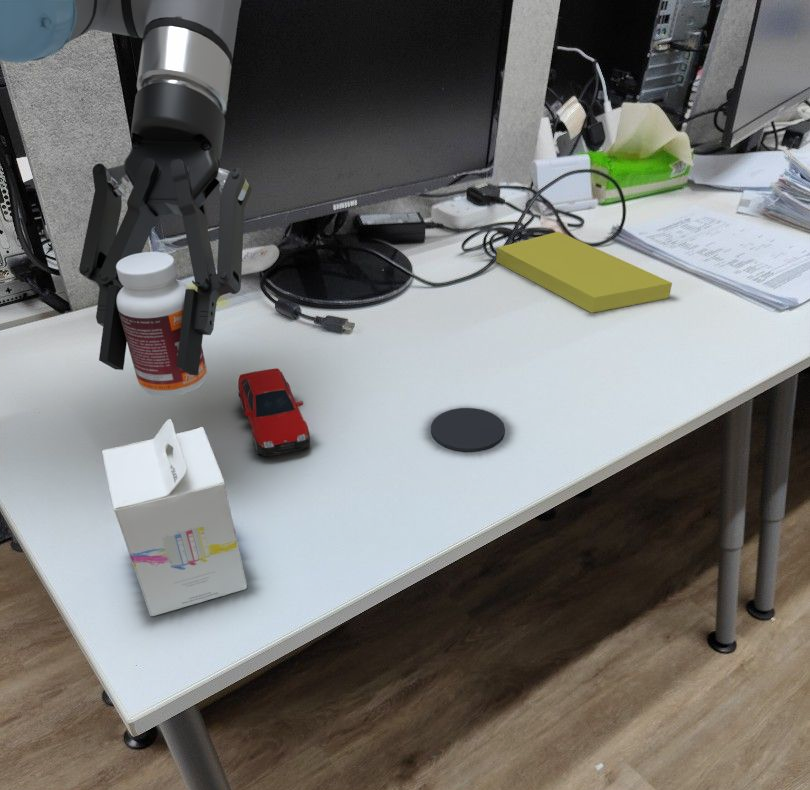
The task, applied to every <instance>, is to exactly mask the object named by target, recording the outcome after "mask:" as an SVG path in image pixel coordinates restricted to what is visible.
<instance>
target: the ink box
mask: <svg viewBox="0 0 810 790" xmlns="http://www.w3.org/2000/svg"><path fill="white" fill-rule="evenodd" d="M101 454H102V460H103V465H104V470H105V475H106V480H107V486H108V490H109V496H110V501H111V506H112V510H113V512H114V513H115V516H116V519H117V522H118V525H119V528H120V531H121V534H122V538H123V541H124V543H125V546H126V549H127V551H128V555H129V558H130V561H131V563H132V567H133V570H134V573H135V575H136V578H137V581H138V583H139V586H140V589H141V593H142V595H143V599H144V601H145V602H144V603H145V604H146V608H147V610H148V611H147V612H148V614H149V616H150V617H155V616H159V615H162V614H165V613H169V612H174V611H176V610H180V609H183V608H186V607H189V606H193V605H196V604H200V603H203V602H207V601H209V600H213V599H217V598H220V597H224V596H227V595H231V594H233V593H237V592H242V591H244V590H246V589H247V588H248V582H247V578H246V574H245V572H244V564H243V560H242V555H241V552H240V546H239V543H238V538H237V534H236V529H235V525H234V519H233V515H232V511H231V507H230V502H229V498H228V493H227V488H226V483H225V479H224V476H223V474H222V471H221V469H220V466H219V464H218V461H217V459H216V456H215V453H214V451H213V448H212V446H211V442H210V441H209V438H208V436H207V433H206V431H205V428H204V427H203V426H200V427H197V428H194V429H190V430H185V431H181V432H178V433H176V430H175V425H174V423H173V420H172V419H171V418H169V419H166V421H165V422H164V423H163V424H162V426H161V428H160V429H159V430H158V432H157V433H156V434H155V436H154V437H153V438H151V439H147V440H146V439H145V440H142V441H137V442H132V443H127V444H124V445H120V446H116V447H111V448H105V449H103V450H102V451H101Z"/></svg>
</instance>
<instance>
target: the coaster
mask: <svg viewBox="0 0 810 790" xmlns="http://www.w3.org/2000/svg"><path fill="white" fill-rule="evenodd" d="M430 433H431V436H432V438H433V440H435V442H436V443H438V444H439V445H441V446H443V447H444V448H447V449H450V450H453V451H458V452H471V453H472V452H480V451H486V450H488V449H491V448H493V447H495V446H497V445H498V444H499V443H500V442H501V441H502V440H503V439H504V436H505V433H506V426H505V424H504V421H503V420H502V419H501V418H500V417H498V416H497V415H496V414H494V413H492V412H490V411H487V410H484V409H481V408H475V407H460V408H453V409H449V410H446V411H445V412H442V413H440V414H439V415H437V416H436V417H435V418H434V419H433V420H432V422H431V425H430Z"/></svg>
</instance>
